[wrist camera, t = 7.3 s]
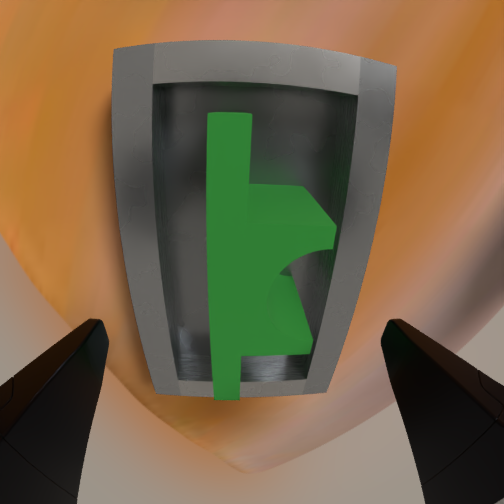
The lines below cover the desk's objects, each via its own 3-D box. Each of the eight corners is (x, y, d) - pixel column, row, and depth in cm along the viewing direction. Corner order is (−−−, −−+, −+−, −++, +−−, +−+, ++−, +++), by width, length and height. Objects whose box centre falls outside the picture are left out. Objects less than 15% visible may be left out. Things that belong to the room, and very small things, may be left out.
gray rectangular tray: (366, 71, 11) (396, 66, 8) (316, 359, 19) (326, 392, 16) (137, 59, 10) (113, 49, 8) (162, 359, 18) (156, 393, 15)
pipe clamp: (284, 331, 16) (298, 398, 12) (216, 332, 16) (213, 400, 12) (310, 115, 11) (352, 124, 7) (216, 110, 11) (206, 112, 7)
